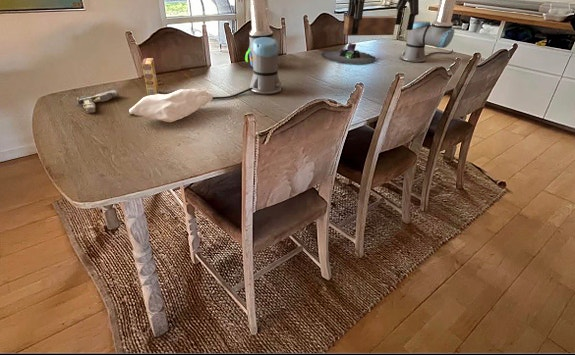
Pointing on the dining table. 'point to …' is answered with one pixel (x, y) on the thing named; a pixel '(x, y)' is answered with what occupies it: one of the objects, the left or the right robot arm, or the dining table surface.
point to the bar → (371, 25)
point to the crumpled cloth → (171, 104)
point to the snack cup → (250, 57)
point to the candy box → (150, 76)
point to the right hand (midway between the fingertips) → (403, 27)
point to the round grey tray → (348, 55)
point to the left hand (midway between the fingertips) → (352, 33)
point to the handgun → (95, 100)
